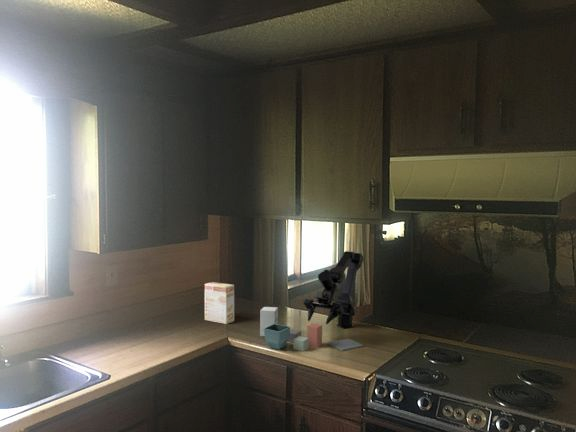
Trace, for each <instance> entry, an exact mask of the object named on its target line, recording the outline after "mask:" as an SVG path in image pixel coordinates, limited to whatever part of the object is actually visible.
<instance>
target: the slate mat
mask: <svg viewBox="0 0 576 432" xmlns="http://www.w3.org/2000/svg"><path fill="white" fill-rule="evenodd" d="M326 344H327V345H329V346H331V347H333V348H335V349H337V350H339V351H341V352H343V351H347V350H353V349H358V348H362V347H364V344H362V343H360V342H357V341H355V340H353V339H351V338H345V339H340V340H335V341H334V340H333V341H330V342H329V341H328V342H327V343H326Z"/></svg>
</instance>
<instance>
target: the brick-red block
mask: <svg viewBox="0 0 576 432" xmlns="http://www.w3.org/2000/svg"><path fill="white" fill-rule="evenodd" d="M306 338H309V347H312V348H316V349H317V348H319V347H321V346H322V345H323V324H318V323H313V322H312V323H310V324H308V325H307V326H306Z"/></svg>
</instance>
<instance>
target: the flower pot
mask: <svg viewBox="0 0 576 432" xmlns="http://www.w3.org/2000/svg"><path fill="white" fill-rule="evenodd" d="M290 330H291V326H287V325H282V324H279V323H278V324H272V325H270V326H268V327H266V328H264V334H265V336H264V339H265V342H266V344H267V346H268V348H270V349H276V350H280V349H282V348H284V347H285V346H286V345H287V343H288V342H287V341H288V339H289V333H290Z"/></svg>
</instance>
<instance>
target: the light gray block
mask: <svg viewBox="0 0 576 432" xmlns="http://www.w3.org/2000/svg"><path fill="white" fill-rule="evenodd" d="M301 335H302V331H301V330H296V329H290V333H289V339H288V341H287V343H291V344H293V339H295V338H297V337H298V336H300V337H302V336H301Z"/></svg>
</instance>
